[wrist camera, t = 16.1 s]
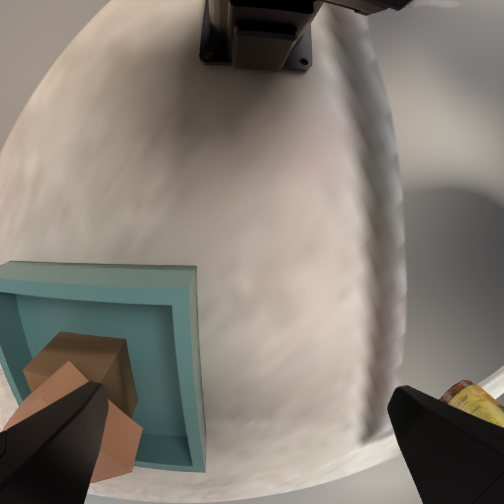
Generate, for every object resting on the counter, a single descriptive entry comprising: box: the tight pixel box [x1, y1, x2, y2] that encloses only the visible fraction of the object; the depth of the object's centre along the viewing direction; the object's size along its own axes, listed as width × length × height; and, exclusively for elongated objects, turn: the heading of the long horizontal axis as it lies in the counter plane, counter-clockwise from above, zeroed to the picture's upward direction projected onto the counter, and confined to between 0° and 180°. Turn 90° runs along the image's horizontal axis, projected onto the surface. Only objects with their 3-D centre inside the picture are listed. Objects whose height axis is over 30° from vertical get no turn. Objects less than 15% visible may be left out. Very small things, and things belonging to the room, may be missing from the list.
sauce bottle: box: [439, 380, 504, 427], centre depth 12 cm, size 7×6×20 cm
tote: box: [0, 261, 206, 473], centre depth 15 cm, size 14×14×4 cm
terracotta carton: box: [2, 361, 143, 483], centre depth 10 cm, size 6×5×3 cm
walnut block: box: [23, 331, 138, 419], centre depth 14 cm, size 5×5×5 cm
